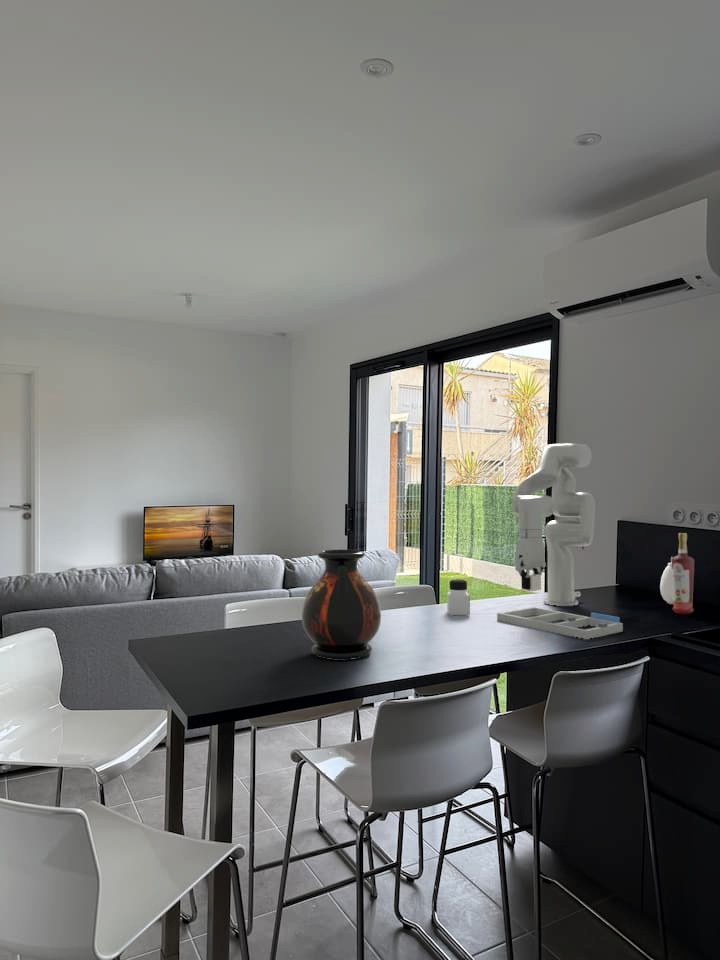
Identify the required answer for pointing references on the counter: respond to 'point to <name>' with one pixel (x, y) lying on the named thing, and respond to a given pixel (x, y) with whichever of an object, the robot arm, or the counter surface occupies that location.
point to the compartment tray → (569, 627)
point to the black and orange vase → (341, 608)
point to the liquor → (683, 578)
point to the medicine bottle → (458, 598)
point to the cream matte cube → (534, 582)
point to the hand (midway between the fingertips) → (531, 587)
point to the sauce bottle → (667, 584)
